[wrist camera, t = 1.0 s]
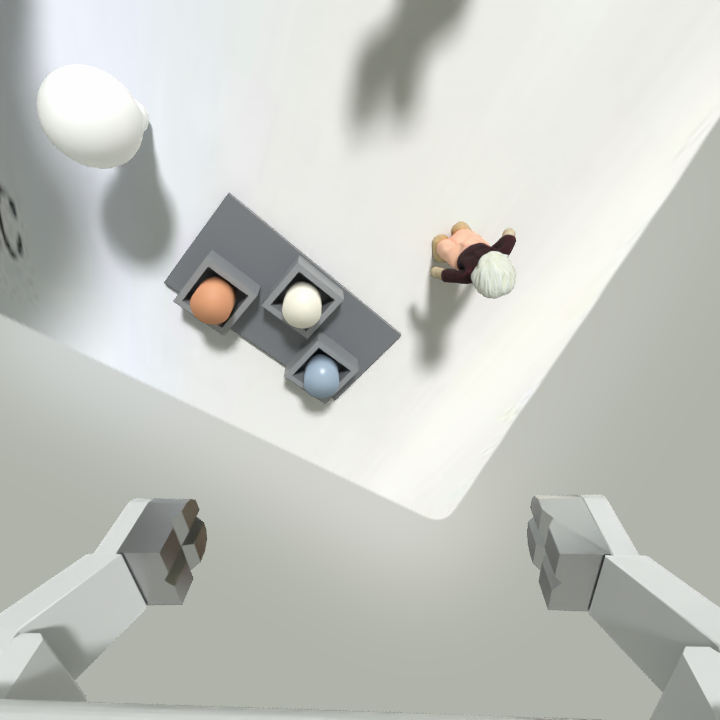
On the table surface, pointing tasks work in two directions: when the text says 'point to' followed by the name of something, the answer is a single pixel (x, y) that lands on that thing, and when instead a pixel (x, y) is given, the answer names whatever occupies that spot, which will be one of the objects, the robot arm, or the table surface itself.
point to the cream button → (302, 304)
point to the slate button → (321, 376)
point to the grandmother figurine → (476, 260)
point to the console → (279, 296)
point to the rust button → (213, 300)
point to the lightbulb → (91, 116)
